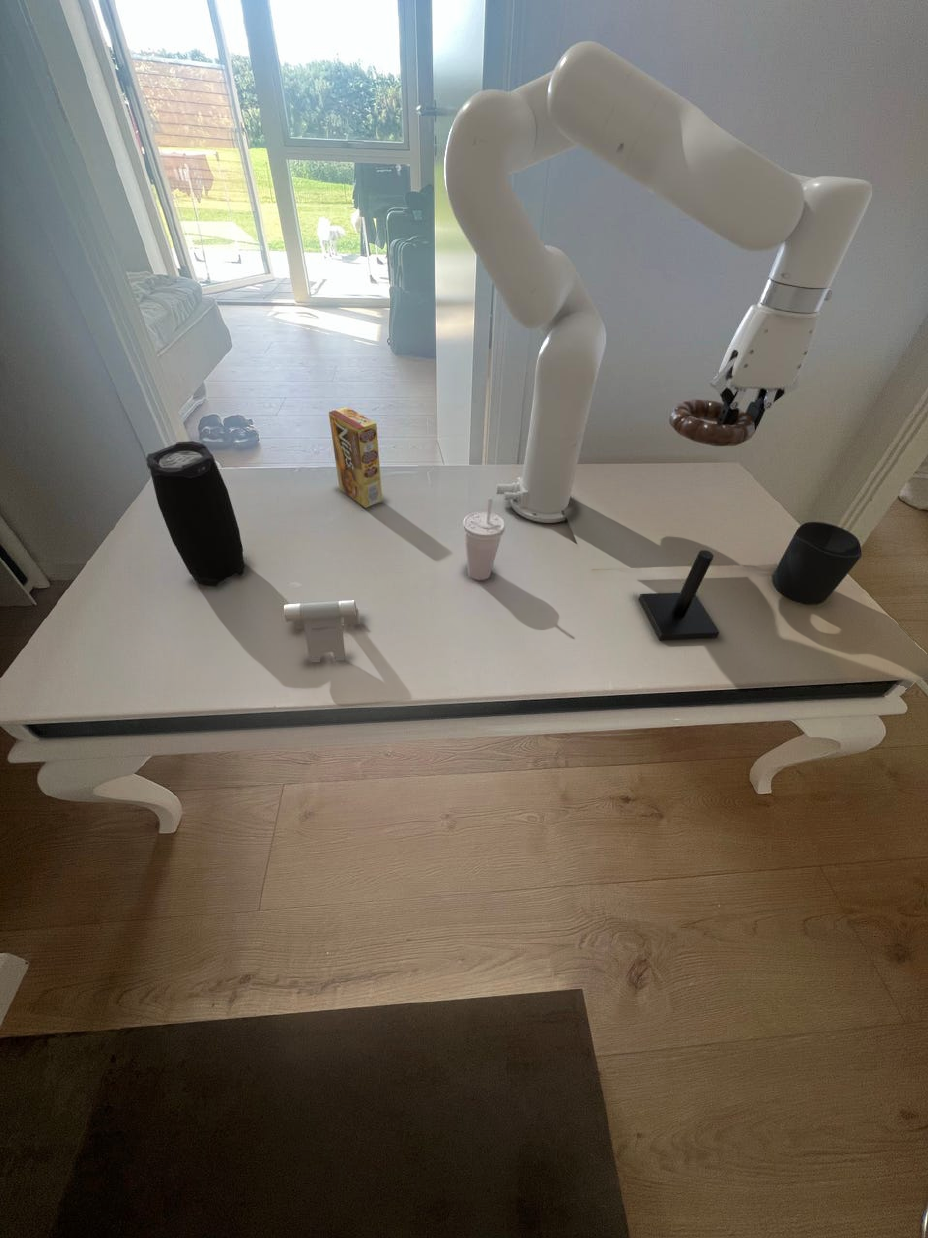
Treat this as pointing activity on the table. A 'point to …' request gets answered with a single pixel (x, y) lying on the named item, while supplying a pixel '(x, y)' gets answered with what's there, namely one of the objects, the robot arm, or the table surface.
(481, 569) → the smoothie
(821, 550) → the pen holder
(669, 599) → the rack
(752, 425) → the chocolate torus ring
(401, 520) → the table surface
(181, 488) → the portable speaker
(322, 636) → the tablet stand
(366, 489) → the candy box
